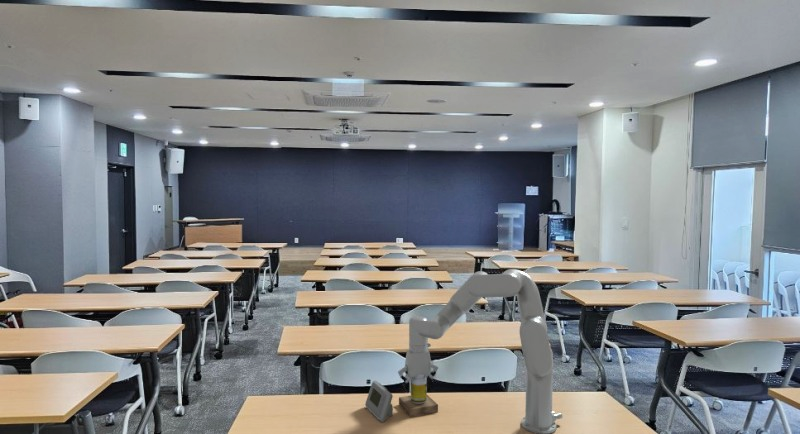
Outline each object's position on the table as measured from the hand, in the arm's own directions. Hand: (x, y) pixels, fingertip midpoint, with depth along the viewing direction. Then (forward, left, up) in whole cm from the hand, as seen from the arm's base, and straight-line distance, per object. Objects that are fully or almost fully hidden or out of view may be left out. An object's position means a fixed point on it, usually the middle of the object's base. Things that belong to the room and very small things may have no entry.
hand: (418, 389), depth 187 cm
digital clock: (+17, -1, -8) cm, 18 cm away
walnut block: (0, 0, -8) cm, 8 cm away
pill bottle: (0, 0, -5) cm, 5 cm away
